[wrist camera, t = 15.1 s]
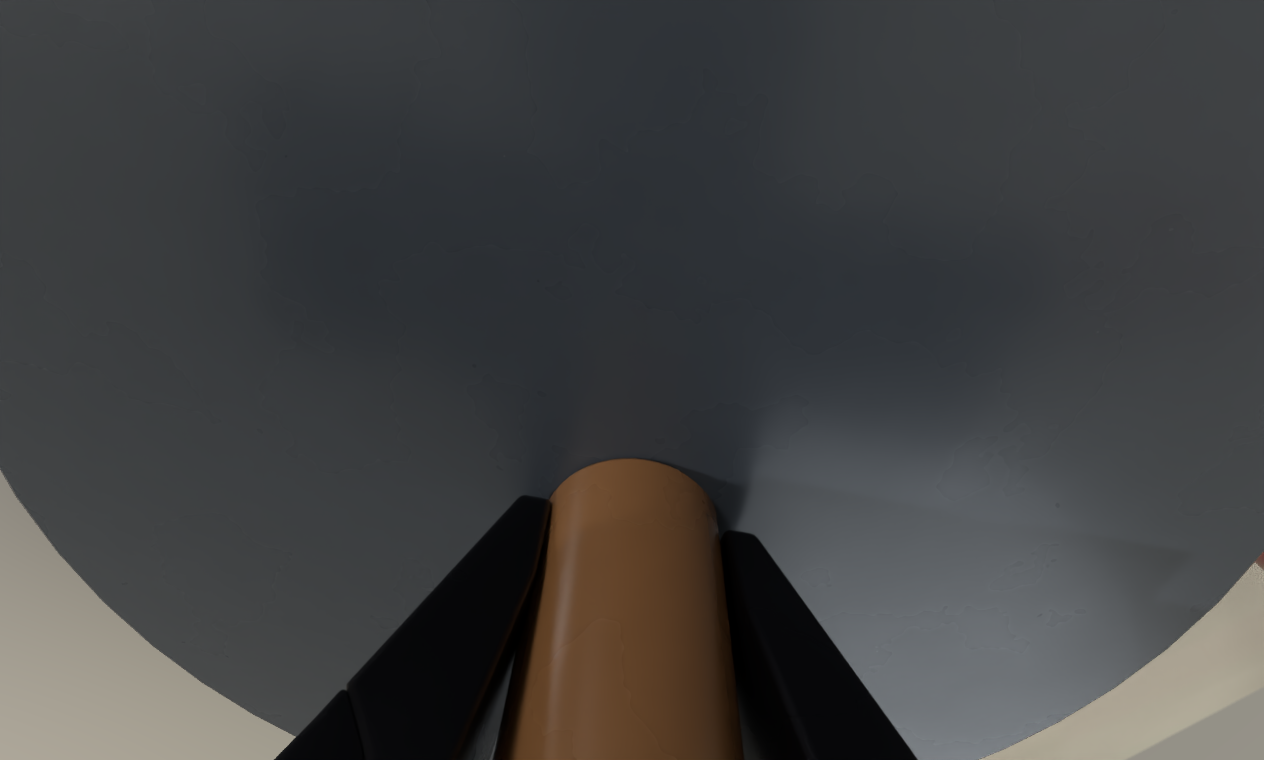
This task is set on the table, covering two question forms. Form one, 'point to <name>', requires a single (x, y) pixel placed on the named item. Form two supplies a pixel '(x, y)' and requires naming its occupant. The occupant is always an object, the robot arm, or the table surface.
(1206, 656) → the table surface
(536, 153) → the lid
